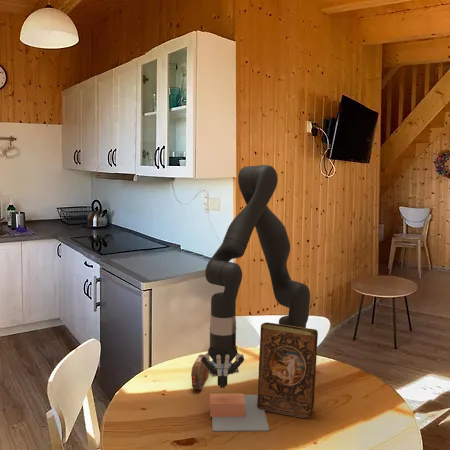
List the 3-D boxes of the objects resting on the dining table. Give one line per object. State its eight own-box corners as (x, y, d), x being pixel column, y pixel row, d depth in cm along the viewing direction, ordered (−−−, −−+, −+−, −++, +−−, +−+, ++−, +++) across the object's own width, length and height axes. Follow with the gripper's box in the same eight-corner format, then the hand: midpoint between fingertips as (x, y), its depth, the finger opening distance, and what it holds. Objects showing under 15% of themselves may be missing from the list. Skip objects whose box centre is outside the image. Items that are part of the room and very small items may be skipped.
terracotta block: (209, 406, 145) (243, 406, 145) (210, 417, 139) (244, 416, 139) (209, 393, 144) (243, 393, 144) (210, 403, 138) (245, 403, 139)
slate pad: (260, 395, 152) (260, 394, 152) (269, 430, 132) (269, 429, 132) (211, 396, 152) (211, 395, 152) (212, 431, 132) (212, 430, 132)
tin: (199, 394, 153) (199, 369, 152) (189, 393, 153) (189, 368, 152) (210, 374, 167) (210, 350, 166) (201, 373, 168) (201, 349, 167)
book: (255, 408, 144) (258, 327, 140) (259, 400, 149) (263, 321, 145) (310, 419, 138) (315, 336, 135) (313, 410, 144) (318, 329, 140)
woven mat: (227, 362, 178) (227, 356, 178) (239, 373, 169) (240, 368, 169) (201, 366, 174) (201, 361, 174) (212, 378, 165) (212, 373, 164)
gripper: (244, 325, 142) (243, 380, 145) (200, 325, 142) (199, 381, 144) (247, 334, 135) (246, 392, 137) (199, 334, 134) (199, 393, 137)
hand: (222, 386), depth 141 cm, fingers closed
